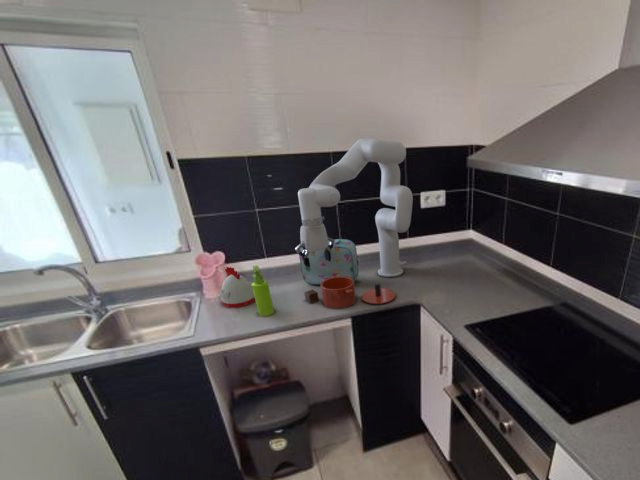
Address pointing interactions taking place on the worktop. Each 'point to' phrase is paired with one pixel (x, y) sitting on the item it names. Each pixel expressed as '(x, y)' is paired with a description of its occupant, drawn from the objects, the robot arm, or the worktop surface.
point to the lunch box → (331, 263)
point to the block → (311, 296)
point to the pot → (338, 292)
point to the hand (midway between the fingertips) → (318, 263)
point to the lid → (378, 295)
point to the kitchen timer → (236, 290)
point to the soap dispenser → (262, 294)
